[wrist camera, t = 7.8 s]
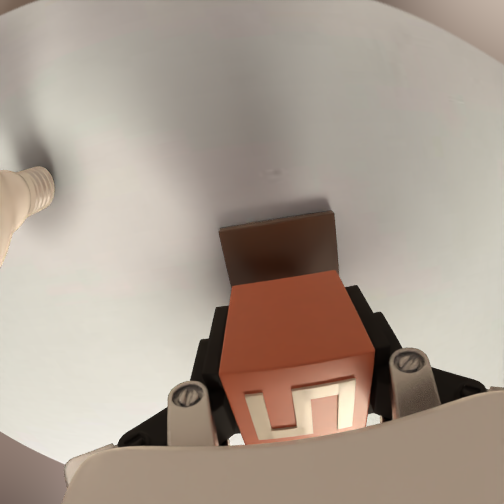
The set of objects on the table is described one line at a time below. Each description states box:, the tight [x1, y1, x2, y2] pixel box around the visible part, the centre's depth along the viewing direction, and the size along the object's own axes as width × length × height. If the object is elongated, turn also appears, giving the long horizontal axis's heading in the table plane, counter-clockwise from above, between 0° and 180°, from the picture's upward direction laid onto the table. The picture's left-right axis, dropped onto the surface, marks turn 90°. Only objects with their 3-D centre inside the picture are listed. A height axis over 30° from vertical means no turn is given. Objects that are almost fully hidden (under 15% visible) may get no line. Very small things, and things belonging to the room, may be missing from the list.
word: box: [219, 211, 339, 288], centre depth 17 cm, size 18×6×6 cm, turn 10°
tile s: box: [219, 270, 375, 445], centre depth 10 cm, size 4×4×5 cm
